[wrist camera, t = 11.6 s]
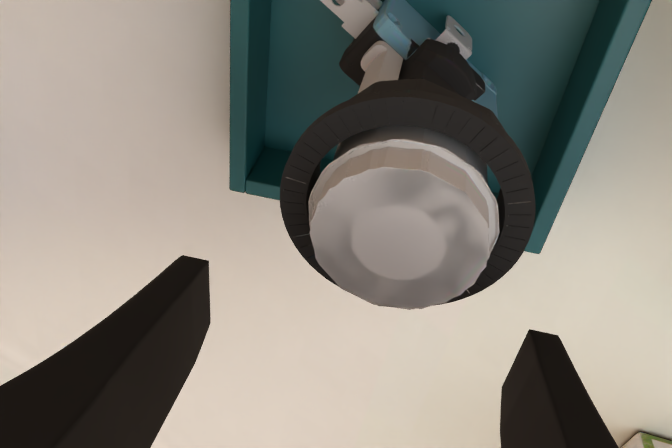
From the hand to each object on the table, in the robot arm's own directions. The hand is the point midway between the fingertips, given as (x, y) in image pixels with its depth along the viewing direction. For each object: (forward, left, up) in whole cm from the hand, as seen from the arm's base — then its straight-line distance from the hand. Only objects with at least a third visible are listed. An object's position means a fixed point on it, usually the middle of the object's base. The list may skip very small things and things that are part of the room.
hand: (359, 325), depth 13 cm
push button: (0, +3, -10) cm, 11 cm away
